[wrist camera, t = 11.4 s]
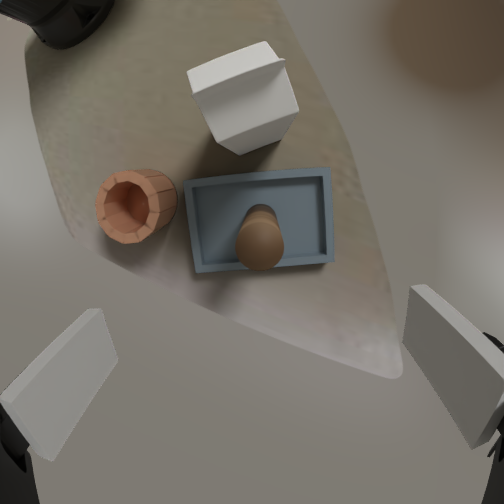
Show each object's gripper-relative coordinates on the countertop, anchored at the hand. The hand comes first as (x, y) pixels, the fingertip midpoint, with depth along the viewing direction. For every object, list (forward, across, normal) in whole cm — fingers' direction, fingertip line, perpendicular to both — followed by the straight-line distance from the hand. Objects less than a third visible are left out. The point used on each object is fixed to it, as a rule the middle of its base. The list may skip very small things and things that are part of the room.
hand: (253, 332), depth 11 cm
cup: (+29, -15, +4) cm, 33 cm away
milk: (+29, 0, +12) cm, 31 cm away
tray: (+29, 0, 0) cm, 29 cm away
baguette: (+27, 0, 0) cm, 27 cm away
